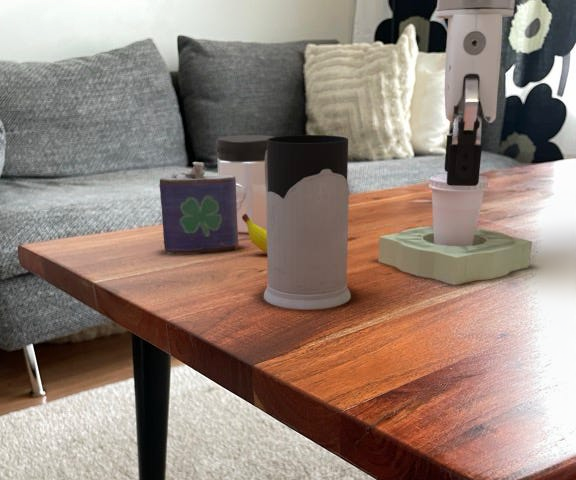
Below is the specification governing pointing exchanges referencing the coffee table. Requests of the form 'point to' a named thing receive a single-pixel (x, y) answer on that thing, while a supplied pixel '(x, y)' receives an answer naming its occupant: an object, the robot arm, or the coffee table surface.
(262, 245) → the fruit
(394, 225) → the coffee table surface
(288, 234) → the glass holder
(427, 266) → the ashtray
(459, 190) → the smoothie
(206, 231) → the flask
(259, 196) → the jar
